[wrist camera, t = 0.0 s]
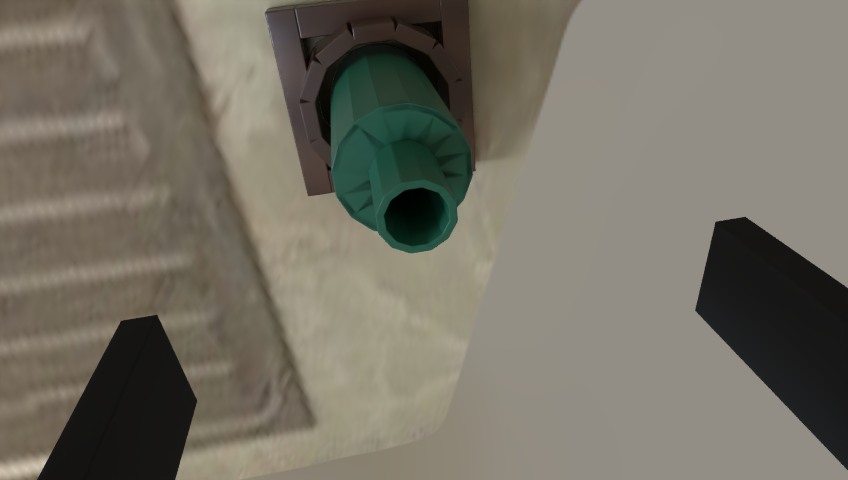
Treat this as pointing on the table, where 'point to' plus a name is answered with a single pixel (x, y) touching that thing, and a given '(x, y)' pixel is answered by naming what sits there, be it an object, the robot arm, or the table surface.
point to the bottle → (396, 149)
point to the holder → (343, 29)
